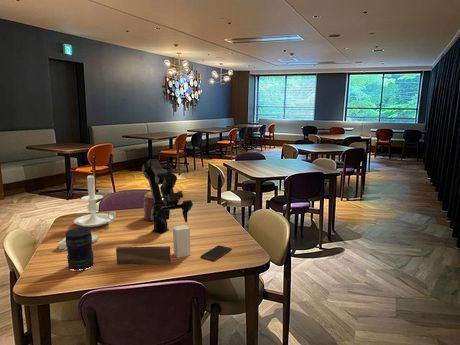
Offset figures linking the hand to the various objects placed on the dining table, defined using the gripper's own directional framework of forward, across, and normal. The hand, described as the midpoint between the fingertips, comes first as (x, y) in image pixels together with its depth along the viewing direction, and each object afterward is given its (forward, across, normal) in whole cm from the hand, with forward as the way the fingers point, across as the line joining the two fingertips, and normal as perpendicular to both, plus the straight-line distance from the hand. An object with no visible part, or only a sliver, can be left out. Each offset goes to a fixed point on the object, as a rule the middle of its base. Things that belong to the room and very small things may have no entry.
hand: (176, 223), depth 161 cm
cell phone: (+18, +14, +1) cm, 23 cm away
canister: (-26, +4, +44) cm, 51 cm away
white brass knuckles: (-12, -40, +30) cm, 51 cm away
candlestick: (-29, -28, +47) cm, 62 cm away
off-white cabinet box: (+13, 0, +5) cm, 14 cm away
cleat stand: (+11, -15, +7) cm, 20 cm away
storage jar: (+7, -41, +11) cm, 43 cm away
